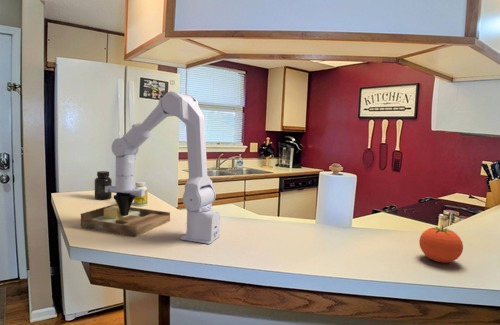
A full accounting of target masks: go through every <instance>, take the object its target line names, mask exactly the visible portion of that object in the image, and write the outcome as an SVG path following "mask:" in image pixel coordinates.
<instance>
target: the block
mask: <svg viewBox="0 0 500 325" xmlns="http://www.w3.org/2000/svg"><path fill="white" fill-rule="evenodd" d="M104 217H105V218H112V219H118V218H121V217H124V216H121V213H120V210H119V206H112V207H109V208H106V209H104Z"/></svg>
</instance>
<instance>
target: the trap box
mask: <svg viewBox="0 0 500 325" xmlns="http://www.w3.org/2000/svg"><path fill="white" fill-rule="evenodd" d="M112 206H118V204H117V203H114V204H110V205H107V206H103V207H100V208H96V209H93V210H90V211H86V212H83V213H81V214H80V229H85V230H92V231H99V232H104V233H110V234H115V235H121V236H128V237H134V238H136V237H138V236H140V235H143V234H145V233H147V232H149V231H150V230H153V229H155V228H157V227H159V226H162V225H163V224H166V223H168V222H170V221H171V212H169V211H161V210H155V209H146V208H140V207H135V206H130V210H129V213H128V215H127V216H124V217H121V218H118V219H112V218H105V217H104V209H106V208H109V207H112Z"/></svg>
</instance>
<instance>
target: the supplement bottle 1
mask: <svg viewBox="0 0 500 325" xmlns="http://www.w3.org/2000/svg"><path fill="white" fill-rule="evenodd" d="M112 181H113V180H112V178H111V177H110V171H108V170H100V171H99V170H98V171H96V177H95V179H94V200H97V201H107V200H110V199H112V192H105V187H106V186H113V185H112V184H113V182H112Z"/></svg>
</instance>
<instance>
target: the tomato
mask: <svg viewBox="0 0 500 325" xmlns="http://www.w3.org/2000/svg"><path fill="white" fill-rule="evenodd" d="M418 241H419V248H420V250H421V252H422V253H423V254H424V255H425V256H426V257H427V258H428V259H430V260H432V261H434V262H437V263H451V262H455V261H456V260H457V259H459V258H460V257H461V255H462V254H463V251H464V245H463V244H464V243H463V241H462V239H461V237H460V236H459V235H458V234H457V232H455V231H453V230H451V229H448V228H447V227H446V228H444V225H441V227H438V226H435V227H431V228H428V229H426V230H424V231H423V232H422V233H421V234H420V236H419V240H418Z"/></svg>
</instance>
